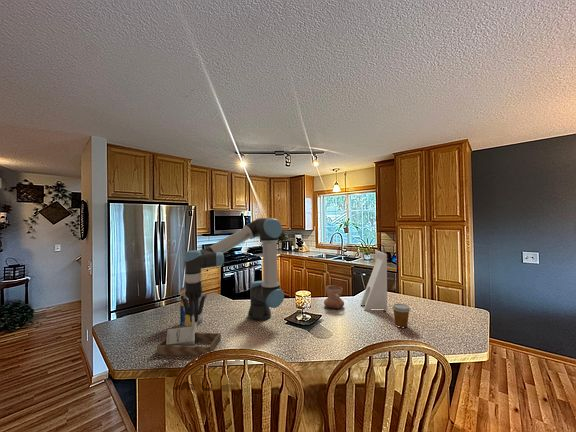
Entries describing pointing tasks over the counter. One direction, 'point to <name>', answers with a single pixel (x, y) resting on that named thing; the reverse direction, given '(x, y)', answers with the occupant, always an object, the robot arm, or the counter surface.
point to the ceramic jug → (334, 297)
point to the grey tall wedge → (377, 285)
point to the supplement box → (181, 336)
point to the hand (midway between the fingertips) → (194, 328)
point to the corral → (191, 350)
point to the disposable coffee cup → (401, 314)
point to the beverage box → (183, 317)
